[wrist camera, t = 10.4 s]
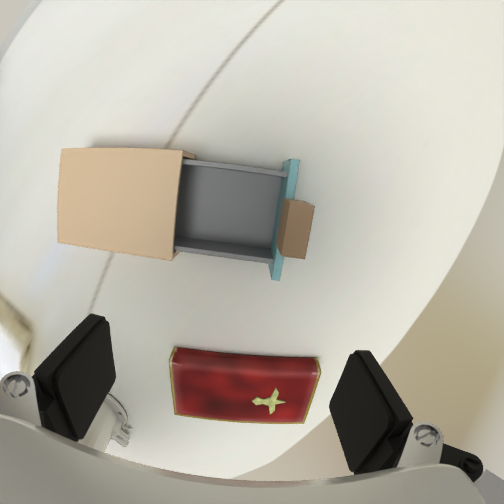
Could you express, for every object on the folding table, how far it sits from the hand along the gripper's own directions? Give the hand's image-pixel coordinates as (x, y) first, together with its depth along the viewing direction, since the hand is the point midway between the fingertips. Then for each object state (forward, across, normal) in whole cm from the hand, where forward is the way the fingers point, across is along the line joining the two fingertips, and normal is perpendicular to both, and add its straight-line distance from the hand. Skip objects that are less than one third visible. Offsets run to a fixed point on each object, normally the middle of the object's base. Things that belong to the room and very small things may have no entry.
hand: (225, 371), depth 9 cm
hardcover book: (+26, -4, +23) cm, 34 cm away
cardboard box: (+25, +14, -3) cm, 29 cm away
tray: (+24, +3, -4) cm, 25 cm away
